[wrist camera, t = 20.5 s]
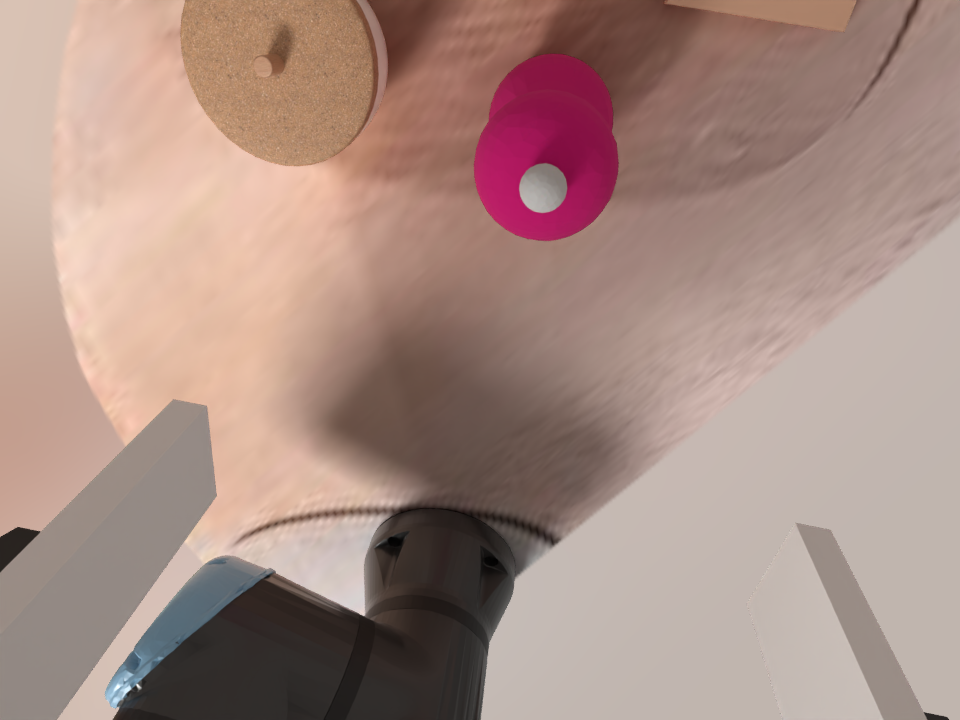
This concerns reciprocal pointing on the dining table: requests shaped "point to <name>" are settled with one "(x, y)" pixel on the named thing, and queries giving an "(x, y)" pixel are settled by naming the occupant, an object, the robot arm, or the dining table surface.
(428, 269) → the dining table surface
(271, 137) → the lidded jar
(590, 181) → the pepper mill
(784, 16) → the tile
